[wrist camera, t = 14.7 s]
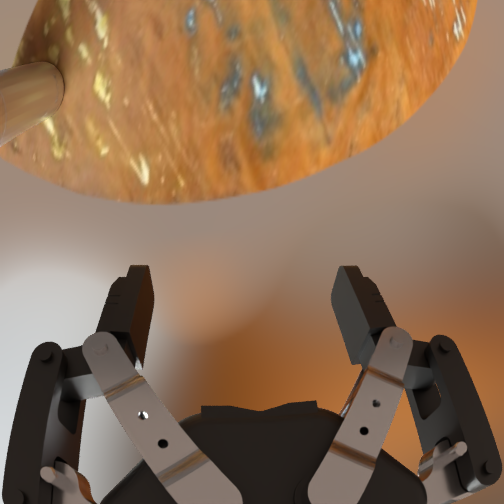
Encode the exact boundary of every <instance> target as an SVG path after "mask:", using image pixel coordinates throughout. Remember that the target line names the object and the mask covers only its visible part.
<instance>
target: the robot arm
mask: <svg viewBox="0 0 504 504" xmlns="http://www.w3.org/2000/svg"><path fill="white" fill-rule="evenodd" d="M63 94H64V83H63V78H62V76H61V73H60V72H59V70H58V69H57V68H56V67H55V66H54V65H52V64H51V63H49V62H44V61H42V62H34V63H30V64H25V65H20V66H16V67H12V68H8V69H4V70H1V71H0V147H1V146H2V145H4V144H5V143H7V142H9V141H10V140H12V139H13V138H15V137H17V136H18V135H20V134H22V133H23V132H25V131H27V130H28V129H30V128H32V127H34V126H35V125H37V124H39V123H41V122H43V121H44V120H46V119H48V118H50V117H51V116H52V115H53V114H54V113H55V112H56V111H57V110H58V108H59V106H60V104H61V102H62V99H63ZM105 303H106V304H105V305H104V308H103V311H102V314H101V317H100V320H99V323H98V326H97V329H96V332H95V333H94V334H92V335H90V336H89V337H88V338H87V339H86V340H85V341H84V343H83V345H81V346H78V347H74V348H68V349H63V350H62V349H61V347H60V346H59V345H58V344H56V343H54V342H45V343H42V344H40V345H39V346H37V347H36V348H35V350H34V351H33V353H32V355H31V359H30V361H29V365H28V368H27V371H26V374H25V378H24V382H23V385H22V389H21V392H20V396H19V400H18V404H17V408H16V412H15V417H14V421H13V426H12V430H11V435H10V440H9V446H8V452H7V459H6V464H5V472H4V480H3V489H2V499H3V502H4V504H97V503H96V502H95V501H94V500H93V497H92V495H91V489H90V484H89V482H88V480H87V479H86V478H85V476H83V475H82V474H81V473H79V472H78V465H79V454H80V453H79V452H80V444H81V434H82V427H83V419H84V412H85V405H86V399H89V398H94V397H99V396H105V398H106V400H107V402H108V404H109V405H110V407H111V409H112V410H113V412H114V414H115V415H116V417H117V419H118V420H119V422H120V424H121V425H122V427H123V428H124V430H125V432H126V433H127V435H128V436H129V438H130V439H131V441H132V442H133V444H134V445H135V447H136V448H137V450H138V451H139V453H140V454H141V455H142V457H143V459H142V460H141V461H140V462H139V463H138V464H137V465H136V466H135V467H134V468H133V469H132V470H131V471H130V472H129V473H128V474H127V475H126V477H124V479H122V481H120V482H119V483H118V484H117V485H116V486H115V487H114V488H113V489H112V490H111V491H110V492H109V493H108V494H107V495H106V496H105V497H104V498H103V500H102V501H101V503H100V504H451V503H453V502H456V501H458V500H460V499H462V498H465V497H467V496H469V495H471V494H474V493H476V492H478V491H480V490H482V489H484V488H486V487H488V486H490V485H492V484H494V483H495V482H496V481H497V480H498V479H499V477H500V475H501V472H502V463H501V459H500V455H499V452H498V449H497V446H496V442H495V440H494V436H493V434H492V431H491V428H490V425H489V422H488V419H487V417H486V414H485V411H484V409H483V406H482V403H481V401H480V398H479V396H478V393H477V391H476V389H475V386H474V384H473V381H472V379H471V377H470V374H469V372H468V370H467V367H466V365H465V363H464V361H463V358H462V356H461V354H460V352H459V350H458V348H457V346H456V344H455V343H454V341H453V340H452V339H450V338H449V337H447V336H444V335H436V336H434V337H433V338H432V339H431V341H430V342H429V343H428V342H423V341H416V340H412V338H411V336H410V335H409V333H408V332H406V331H405V330H403V329H402V328H399V327H397V326H396V324H395V322H394V320H393V318H392V316H391V314H390V312H389V310H388V308H387V306H386V304H385V302H384V300H383V298H382V296H381V295H380V292H379V290H378V288H377V286H376V284H375V283H374V282H372V281H371V280H370V279H369V278H368V277H363V275H362V273H361V271H360V269H359V268H358V266H340V267H339V269H338V272H337V276H336V279H335V283H334V286H333V289H332V293H331V303H332V307H333V310H334V313H335V316H336V319H337V321H338V325H339V327H340V330H341V333H342V336H343V339H344V342H345V346H346V349H347V352H348V354H349V358H350V361H351V364H352V365H355V364H361V366H362V370H361V372H360V374H359V376H358V379H357V380H356V383H355V384H354V387H353V389H352V391H351V393H350V395H349V397H348V399H347V401H346V403H345V405H344V407H343V408H342V410H341V411H340V413H339V415H338V414H336V413H334V412H332V411H329V410H326V409H322V408H318V407H317V402H316V400H315V401H306V402H294V403H287V404H284V405H281V406H278V407H275V408H271V409H268V410H264V411H254V410H249V409H244V408H238V407H234V406H201V413H199V414H195V415H192V416H189V417H187V418H185V419H183V420H181V421H180V422H178V423H177V422H176V420H175V419H174V418H173V416H172V415H171V414H170V413H169V411H168V410H167V409H166V407H165V406H164V405H163V403H162V402H161V401H160V399H159V398H158V397H157V395H156V394H155V392H154V391H153V390H152V388H151V387H150V385H149V384H148V383H147V381H146V380H145V379H144V377H143V376H140V375H139V373H138V372H137V371H136V369H141V370H142V369H143V364H144V358H145V352H146V346H147V340H148V335H149V329H150V324H151V319H152V313H153V308H154V291H153V285H152V280H151V274H150V269H149V266H148V265H131V266H130V267H129V271H128V273H127V276H126V277H119V278H118V279H117V280H116V281H115V282H114V283H113V284H112V285H111V288H110V291H109V293H108V297H107V299H106V302H105ZM436 384H437V386H436ZM437 387H438V388H437ZM404 388H405V391H406V394H407V397H408V401H409V404H410V407H411V411H412V414H413V418H414V421H415V425H416V428H417V432H418V435H419V439H420V443H421V447H422V451H423V456H422V457H421V459H420V462H419V469H418V476H416V475H415V474H414V473H413V472H411V471H410V470H409V469H408V468H406V467H405V466H404V465H402V464H401V463H400V462H398V461H397V460H396V459H394V458H393V457H392V456H391V455H389V454H388V453H387V452H386V451H384V450H383V449H382V448H381V447H382V445H383V443H384V440H385V438H386V435H387V433H388V430H389V428H390V425H391V423H392V420H393V417H394V415H395V412H396V409H397V406H398V404H399V400H400V398H401V395H402V392H403V389H404ZM438 390H439V391H438ZM439 393H440V394H439ZM440 396H441V397H440Z"/></svg>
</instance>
